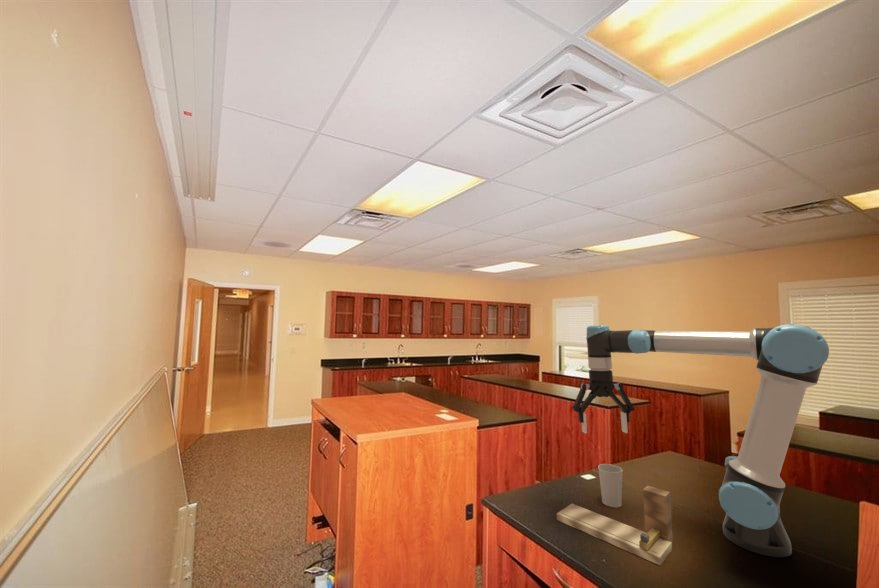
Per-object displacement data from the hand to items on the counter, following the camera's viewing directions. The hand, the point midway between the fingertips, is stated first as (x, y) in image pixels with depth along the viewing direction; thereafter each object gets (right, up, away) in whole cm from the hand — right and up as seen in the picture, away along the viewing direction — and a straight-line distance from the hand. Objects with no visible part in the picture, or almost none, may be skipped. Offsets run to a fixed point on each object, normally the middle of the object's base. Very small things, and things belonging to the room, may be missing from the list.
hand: (604, 432), depth 123 cm
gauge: (+4, -25, -21) cm, 33 cm away
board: (-5, -25, -14) cm, 30 cm away
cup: (+5, -27, +5) cm, 28 cm away
